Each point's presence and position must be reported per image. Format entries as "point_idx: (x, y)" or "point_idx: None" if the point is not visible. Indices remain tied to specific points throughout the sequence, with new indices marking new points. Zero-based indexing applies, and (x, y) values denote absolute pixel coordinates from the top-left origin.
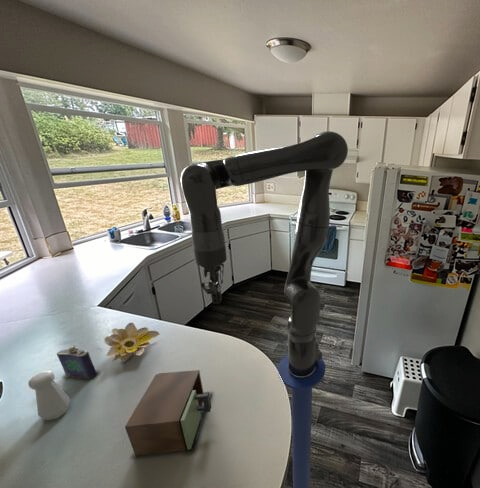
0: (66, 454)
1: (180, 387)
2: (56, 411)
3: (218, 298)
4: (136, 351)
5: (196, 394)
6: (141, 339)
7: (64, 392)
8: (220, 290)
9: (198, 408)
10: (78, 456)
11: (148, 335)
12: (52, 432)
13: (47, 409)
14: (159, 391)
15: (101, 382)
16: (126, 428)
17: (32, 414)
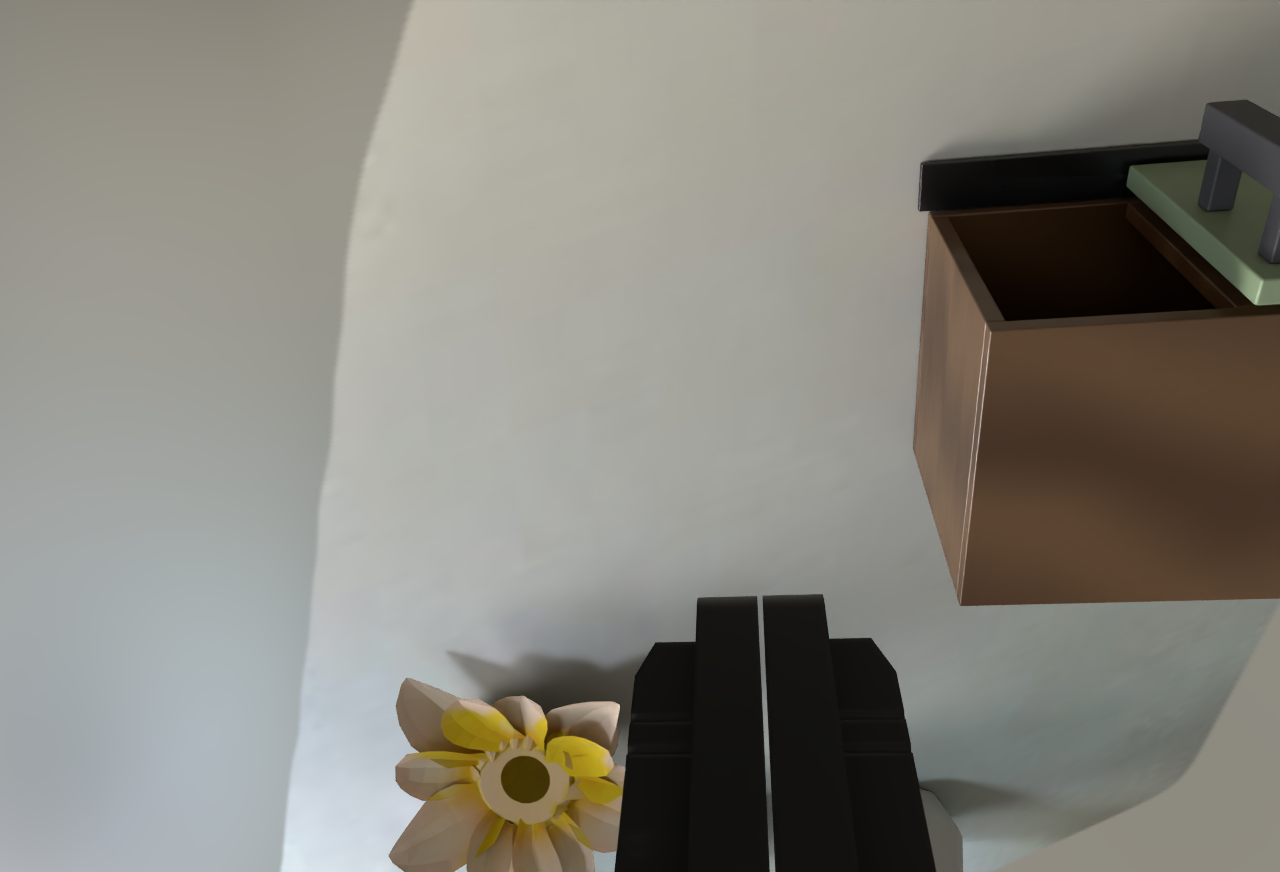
0: (1128, 685)
1: (1157, 406)
2: (948, 827)
3: (844, 719)
4: (566, 723)
5: (1245, 258)
6: (477, 744)
7: None
8: (718, 854)
9: (1231, 200)
10: (1155, 644)
11: (445, 731)
12: (1001, 773)
13: (960, 865)
14: (1152, 526)
15: None
16: None
17: None
